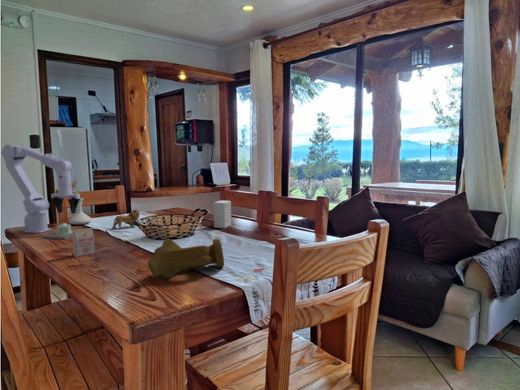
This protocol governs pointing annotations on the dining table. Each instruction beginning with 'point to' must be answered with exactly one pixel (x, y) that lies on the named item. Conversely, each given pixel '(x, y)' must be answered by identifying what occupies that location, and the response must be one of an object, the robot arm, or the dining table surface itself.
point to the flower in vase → (79, 210)
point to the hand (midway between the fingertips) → (66, 212)
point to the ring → (64, 229)
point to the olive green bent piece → (183, 258)
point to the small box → (222, 214)
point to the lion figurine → (127, 219)
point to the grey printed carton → (83, 242)
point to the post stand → (59, 236)
